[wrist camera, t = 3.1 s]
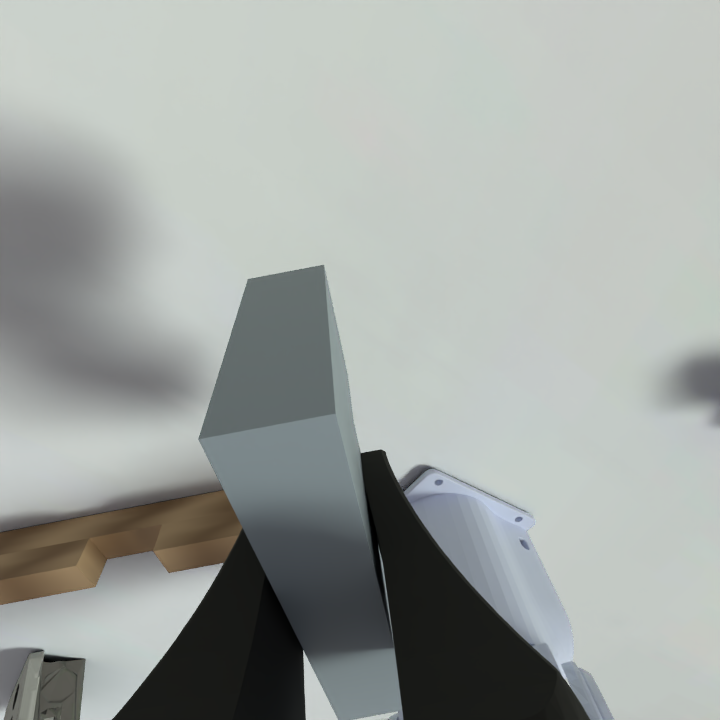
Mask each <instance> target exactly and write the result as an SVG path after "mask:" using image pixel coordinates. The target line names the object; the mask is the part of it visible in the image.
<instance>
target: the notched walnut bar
mask: <svg viewBox="0 0 720 720" xmlns="http://www.w3.org/2000/svg"><path fill="white" fill-rule="evenodd" d="M241 529H242V526H241V524H240V522H239V520H238V518H237V516H236V514H235V512H234V510H233V508H232V506H231V504H230V502H229V500H228V498H227V496H226V494H225V492H224V490H222V491H217V492H211V493H206V494H201V495H196V496H190V497H185V498H180V499H175V500H169V501H164V502H159V503H154V504H148V505H143V506H138V507H133V508H127V509H122V510H117V511H111V512H106V513H101V514H96V515H90V516H85V517H80V518H75V519H69V520H64V521H59V522H54V523H48V524H43V525H38V526H33V527H27V528H22V529H17V530H11V531H6V532H1V533H0V605H3V604H8V603H13V602H18V601H24V600H29V599H34V598H39V597H45V596H50V595H55V594H61V593H66V592H71V591H76V590H82V589H87V588H92V587H96V584H97V582H98V580H99V577H100V575H101V573H102V570H103V568H104V565H105V563H106V561H107V559H111V558H116V557H122V556H127V555H132V554H138V553H143V552H148V551H153V552H154V553H155V554H156V556H157V557H158V559H159V560H160V561H161V563H162V564H163V566H164V567H165V568H166V570H167V571H168V572H169V573H171V572H177V571H182V570H187V569H193V568H198V567H203V566H208V565H214V564H219V563H224V562H225V560H226V559H227V557H228V555H229V553H230V551H231V549H232V548H233V546H234V544H235V542H236V540H237V538H238V536H239V534H240V531H241Z"/></svg>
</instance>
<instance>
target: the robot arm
mask: <svg viewBox="0 0 720 720" xmlns="http://www.w3.org/2000/svg"><path fill="white" fill-rule="evenodd" d="M361 462H362V471H363V480H364V485H365V489H366V494H367V498H368V502H369V507H370V511H371V515H372V520H373V524H374V529H375V533H376V537H377V542H378V546H379V550H380V554H381V558H382V562H383V568H384V575H385V582H386V590H387V597H388V604H389V612H390V619H391V626H392V634H393V641H394V649H395V657H396V664H397V672H398V680H399V688H400V696H401V704H402V710H401V711H398V713H397V714H394V715H392V716H391V717H389V719H388V720H614V718H613V716H612V714H611V712H610V710H609V708H608V706H607V704H606V702H605V700H604V698H603V696H602V694H601V692H600V690H599V688H598V686H597V684H596V682H595V680H594V678H593V677H592V675H591V674H590V673H589V672H587V671H585V670H584V669H582V668H578V667H577V665H576V664H575V663H574V662H573V654H574V643H573V634H572V628H571V624H570V621H569V618H568V615H567V613H566V611H565V609H564V607H563V605H562V603H561V601H560V598H559V596H558V594H557V592H556V590H555V588H554V586H553V584H552V582H551V580H550V578H549V576H548V574H547V572H546V570H545V568H544V565H543V563H542V561H541V559H540V557H539V555H538V553H537V551H536V549H535V547H534V545H533V543H532V541H531V539H530V537H529V535H528V532H527V531H528V530H529V529H530V528H532V527H533V526H534V525H535V523H536V520H535V518H534V516H532V515H531V514H529V513H526V512H524V511H522V510H520V509H518V508H516V507H514V506H512V505H510V504H508V503H505V502H503V501H501V500H499V499H497V498H495V497H493V496H491V495H489V494H486V493H484V492H482V491H480V490H478V489H476V488H474V487H472V486H470V485H467V484H465V483H463V482H461V481H459V480H457V479H455V478H453V477H451V476H449V475H446V474H444V473H442V472H440V471H438V470H435V469H429V470H427V471H425V472H424V473H423V474H422V475H421V476H420V477H419V478H418V479H417V480H416V481H415V482H414V483H413V484H411V485H410V486H409V487H408V488H407V489H406V490H405V491H404V492H403V491H402V489H401V487H400V485H399V483H398V481H397V479H396V477H395V475H394V473H393V471H392V469H391V467H390V464H389V462H388V459H387V456H386V452H385V451H383V450H376V451H370V452H365V453H361ZM566 677H567V680H568V682H569V684H570V686H569V685H568V684H567V682H566V681H565V679H566ZM570 687H571V688H570ZM112 720H306V717H305V694H304V663H303V648H302V646H301V644H300V642H299V640H298V638H297V636H296V634H295V632H294V630H293V628H292V626H291V624H290V622H289V620H288V618H287V616H286V614H285V612H284V610H283V608H282V606H281V604H280V602H279V600H278V598H277V596H276V594H275V592H274V590H273V588H272V586H271V584H270V582H269V580H268V578H267V576H266V574H265V572H264V570H263V568H262V566H261V564H260V562H259V560H258V558H257V556H256V554H255V552H254V550H253V548H252V546H251V544H250V542H249V540H248V538H247V536H246V534H245V532H244V530H243V528H242V529H241V531H240V534H239V536H238V538H237V540H236V542H235V544H234V546H233V548H232V549H231V551H230V553H229V555H228V557H227V559H226V560H225V562H224V564H223V566H222V568H221V570H220V571H219V573H218V575H217V577H216V578H215V580H214V582H213V584H212V585H211V587H210V589H209V590H208V592H207V593H206V595H205V597H204V598H203V600H202V601H201V603H200V605H199V606H198V608H197V609H196V611H195V612H194V614H193V615H192V617H191V618H190V620H189V621H188V623H187V624H186V625H185V627H184V628H183V630H182V631H181V633H180V634H179V636H178V637H177V639H176V640H175V641H174V643H173V644H172V645H171V647H170V648H169V650H168V651H167V652H166V654H165V655H164V656H163V658H162V659H161V660H160V662H159V663H158V664H157V665H156V667H155V668H154V669H153V670H152V672H151V673H150V674H149V675H148V677H147V678H146V679H145V681H144V682H143V683H142V684H141V686H140V687H139V688H138V689H137V691H136V692H135V693H134V694H133V696H132V697H131V698H130V699H129V701H128V702H127V703H126V704H125V705H124V707H123V708H122V709H121V710H120V711H119V712H118V714H117V715H116V716H115V717H114V718H113V719H112Z"/></svg>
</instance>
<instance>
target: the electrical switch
mask: <svg viewBox="0 0 720 720" xmlns="http://www.w3.org/2000/svg"><path fill="white" fill-rule="evenodd" d="M43 659H44V651H41V652H36V653H31V654H29V656H28V658H27V660H26V663H25V665H24V668H23V670H22V672H21V675H20V677H19V679H18V682H17V684H16V686H15V689H14V691H13V693H12V696H11V698H10V701H9V704H8V706H7V709H6V713H5V717H4V720H80V710H81V700H82V690H83V680H84V670H85V659H79V660H72V661H56V662H52V663H49V662H43Z"/></svg>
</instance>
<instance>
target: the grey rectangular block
mask: <svg viewBox="0 0 720 720" xmlns="http://www.w3.org/2000/svg"><path fill="white" fill-rule="evenodd" d="M199 441H200V443H201V445H202V447H203V449H204V451H205V453H206V456H207V458H208V460H209V462H210V464H211V466H212V468H213V470H214V472H215V474H216V476H217V478H218V480H219V482H220V484H221V486H222V488H223V490H224V492H225V494H226V496H227V498H228V500H229V502H230V504H231V506H232V508H233V510H234V512H235V514H236V516H237V518H238V520H239V522H240V524H241V526H242V528H243V530H244V532H245V534H246V536H247V538H248V540H249V542H250V544H251V546H252V548H253V550H254V552H255V554H256V556H257V558H258V560H259V562H260V564H261V566H262V568H263V570H264V572H265V574H266V576H267V578H268V580H269V582H270V584H271V586H272V588H273V590H274V592H275V594H276V596H277V598H278V600H279V602H280V604H281V606H282V608H283V610H284V612H285V614H286V616H287V618H288V620H289V622H290V624H291V626H292V628H293V630H294V632H295V634H296V636H297V638H298V640H299V642H300V644H301V646H302V648H303V650H304V652H305V654H306V656H307V658H308V660H309V662H310V664H311V666H312V668H313V670H314V672H315V674H316V676H317V678H318V680H319V682H320V684H321V686H322V688H323V690H324V692H325V694H326V696H327V698H328V700H329V702H330V704H331V706H332V708H333V710H334V712H335V714H336V716H337V718H338V720H353V719H358V718H364V717H369V716H374V715H380V714H385V713H391V712H396V711H401V710H402V704H401V696H400V688H399V680H398V672H397V664H396V657H395V649H394V641H393V634H392V626H391V619H390V612H389V604H388V597H387V590H386V582H385V575H384V568H383V562H382V558H381V554H380V550H379V546H378V542H377V537H376V533H375V529H374V524H373V520H372V515H371V511H370V507H369V502H368V498H367V494H366V489H365V485H364V480H363V471H362V462H361V452H360V448H359V443H358V439H357V434H356V430H355V425H354V421H353V413H352V405H351V397H350V390H349V382H348V374H347V370H346V365H345V360H344V356H343V351H342V346H341V342H340V337H339V332H338V328H337V323H336V318H335V314H334V309H333V305H332V300H331V295H330V291H329V286H328V281H327V277H326V272H325V267H324V265H320V266H315V267H310V268H305V269H299V270H294V271H289V272H284V273H278V274H273V275H268V276H262V277H257V278H252V279H248V281H247V284H246V287H245V291H244V294H243V297H242V300H241V303H240V307H239V310H238V313H237V316H236V320H235V323H234V326H233V329H232V333H231V336H230V339H229V342H228V345H227V349H226V352H225V355H224V358H223V362H222V365H221V368H220V371H219V375H218V378H217V381H216V384H215V388H214V391H213V394H212V397H211V400H210V404H209V407H208V410H207V413H206V417H205V420H204V423H203V426H202V430H201V433H200V436H199Z"/></svg>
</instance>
